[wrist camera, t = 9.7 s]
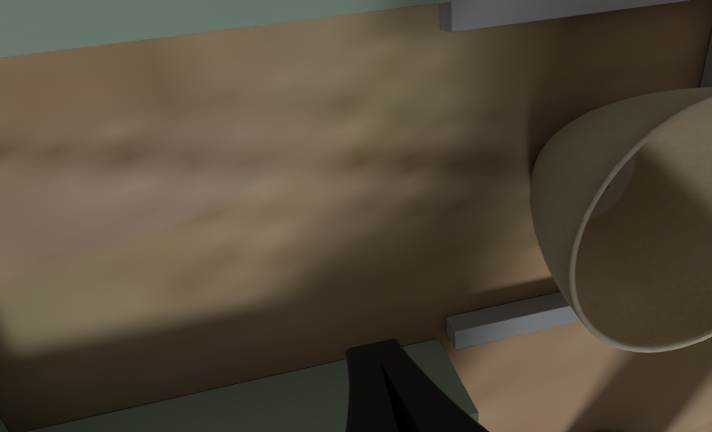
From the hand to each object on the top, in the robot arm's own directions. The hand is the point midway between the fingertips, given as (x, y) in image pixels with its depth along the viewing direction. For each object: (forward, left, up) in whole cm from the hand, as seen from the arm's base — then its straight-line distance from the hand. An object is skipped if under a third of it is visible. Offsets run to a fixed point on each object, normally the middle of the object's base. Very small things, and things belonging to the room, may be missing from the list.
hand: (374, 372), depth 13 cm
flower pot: (0, -12, -10) cm, 16 cm away
